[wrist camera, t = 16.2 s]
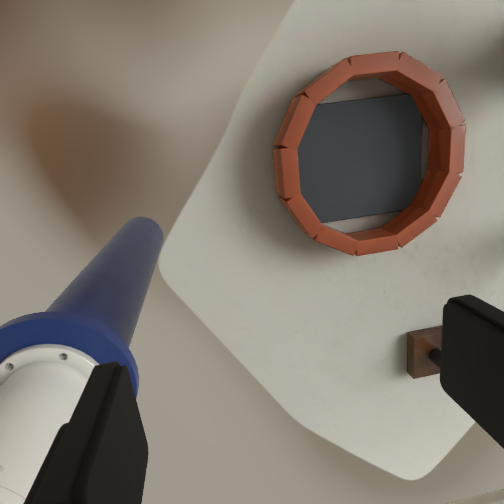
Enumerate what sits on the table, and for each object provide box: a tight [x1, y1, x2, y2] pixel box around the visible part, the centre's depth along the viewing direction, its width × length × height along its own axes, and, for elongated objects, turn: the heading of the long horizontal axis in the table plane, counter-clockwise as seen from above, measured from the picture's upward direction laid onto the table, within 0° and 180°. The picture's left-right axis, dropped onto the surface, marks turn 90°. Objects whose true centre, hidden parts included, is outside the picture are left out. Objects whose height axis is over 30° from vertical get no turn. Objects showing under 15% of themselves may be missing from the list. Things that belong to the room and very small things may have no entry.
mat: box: [297, 94, 422, 223], centre depth 37 cm, size 14×12×1 cm
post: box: [407, 326, 442, 379], centre depth 44 cm, size 6×6×4 cm
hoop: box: [272, 51, 466, 256], centre depth 36 cm, size 19×19×3 cm
